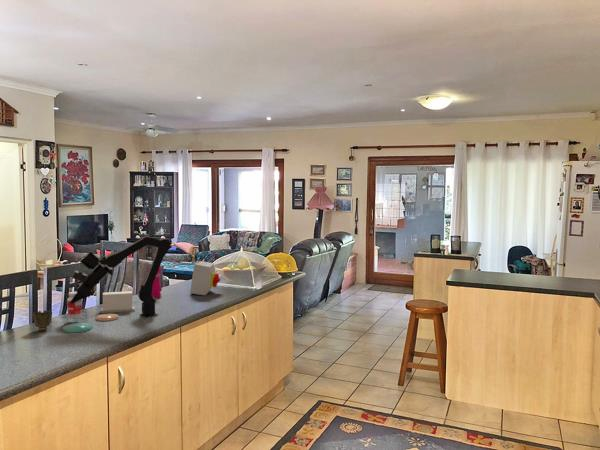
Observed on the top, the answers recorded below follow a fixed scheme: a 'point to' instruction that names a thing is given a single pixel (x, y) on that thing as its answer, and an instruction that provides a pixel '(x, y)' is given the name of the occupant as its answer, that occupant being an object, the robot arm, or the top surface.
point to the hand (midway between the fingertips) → (71, 301)
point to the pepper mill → (157, 286)
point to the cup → (42, 319)
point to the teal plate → (77, 327)
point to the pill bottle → (74, 306)
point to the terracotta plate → (107, 317)
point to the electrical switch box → (203, 278)
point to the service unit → (117, 302)
